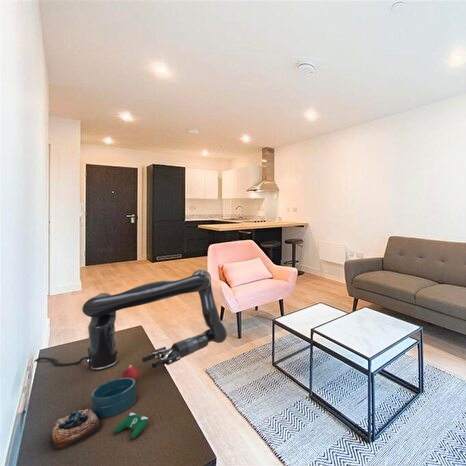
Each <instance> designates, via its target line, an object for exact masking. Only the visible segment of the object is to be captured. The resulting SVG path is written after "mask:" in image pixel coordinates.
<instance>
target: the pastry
mask: <svg viewBox="0 0 466 466" xmlns="http://www.w3.org/2000/svg"><path fill="white" fill-rule="evenodd" d="M99 430H100V420H99V417H97V416H96V414H95V413H94V412H93V409H92V408H86V409H78V410H73V411H72V412H71V413H70V414H69V415H66V416H65V417H61V418H58V419H57V420H55V421H53V427H52V429H51V440H52V445H53V447H54V449H56V450H61V449H65V448H69V447H71V446H74V445H76V444H79V443H81V442H83V441H84V440H86V439H88V438H90V437H92V436H93V435H95V434H96V433H98V432H99Z"/></svg>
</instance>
